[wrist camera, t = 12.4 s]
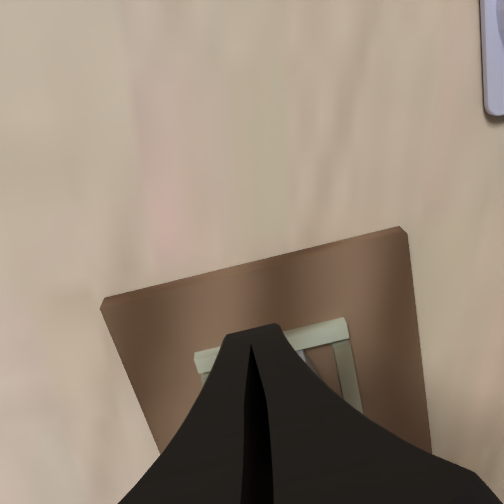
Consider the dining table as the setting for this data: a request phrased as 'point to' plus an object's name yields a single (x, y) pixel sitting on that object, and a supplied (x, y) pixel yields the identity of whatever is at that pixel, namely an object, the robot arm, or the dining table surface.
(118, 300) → the board
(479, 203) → the dining table surface
